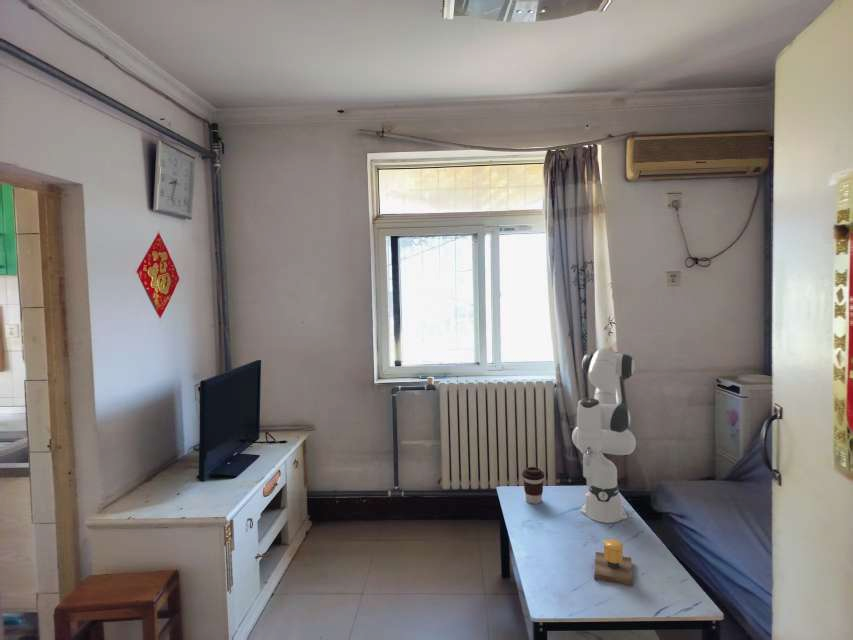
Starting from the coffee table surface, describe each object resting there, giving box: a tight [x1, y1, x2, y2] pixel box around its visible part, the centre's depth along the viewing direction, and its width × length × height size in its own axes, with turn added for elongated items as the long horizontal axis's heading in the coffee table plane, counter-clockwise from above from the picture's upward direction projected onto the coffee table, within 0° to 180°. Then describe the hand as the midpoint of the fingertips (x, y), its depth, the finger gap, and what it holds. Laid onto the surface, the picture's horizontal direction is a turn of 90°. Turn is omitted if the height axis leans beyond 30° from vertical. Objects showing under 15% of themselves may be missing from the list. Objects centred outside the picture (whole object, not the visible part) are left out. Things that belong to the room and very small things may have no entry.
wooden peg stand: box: [593, 551, 634, 587], centre depth 167 cm, size 14×12×9 cm
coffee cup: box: [522, 466, 545, 505], centre depth 222 cm, size 10×10×15 cm
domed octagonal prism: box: [603, 538, 624, 563], centre depth 167 cm, size 6×6×5 cm
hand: (590, 480), depth 175 cm, fingers open, 8 cm apart
